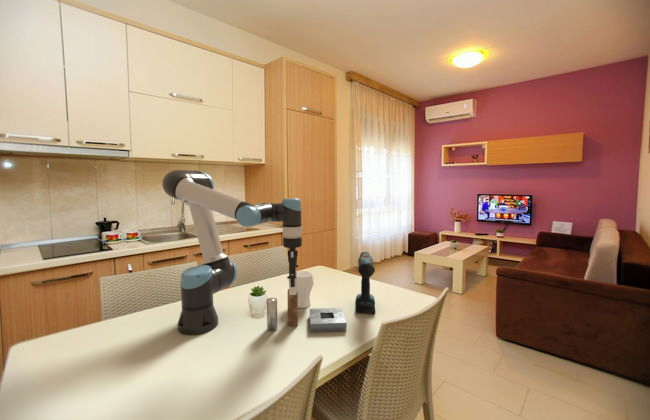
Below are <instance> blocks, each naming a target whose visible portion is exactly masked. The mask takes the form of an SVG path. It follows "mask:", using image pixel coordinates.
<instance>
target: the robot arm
mask: <svg viewBox="0 0 650 420" xmlns="http://www.w3.org/2000/svg"><path fill="white" fill-rule="evenodd" d="M161 183H162V189H163V191H164V193H165V194H167V196H169V197H171V198H172V199H176V200H178V201H180V202H183V203H184V204H185V205H186V206H188V207H189V211H190V214H191V218H192V221H193V224H194V228H195V233H196V236H197V241H198V243H199V247H200V251H201V254H202V258H203V259H202V261H201V263H200V265H199V264H198V265H195V266H191V267H188V268H186V269H185V270H184V271H183V272H181V275H180V281H179V283H180V284H179V286H180V297H181V299H180V300H181V311H180V314H179V317H178V318H179V319H178V320H177V321H178V322H177V332H178V333H180V334H181V335H187V336H189V335H191V336H192V335H201V334H205V333H207V332H210V331H212V330H214V329H215V328H216V327H218V325H219V316H218V313H217V311H216V308H215V305H214V294H216V293H218V292H220V291H222V290H224V289H227V288H229V287H230V286H231V285H232V284H233V283H235V281H236V279H237V277H238V267H237V266H236V264H235V262H233V261H232V260H231V259H229V255H227V254H225V253H224V250H223V247H222V243H221V239H220V235H219V232H218V228H217V224H216V221H215V218H214V214H213V212H215V213H218V214H221V215H223V216H227V217H228V218H230V219H234V220H236V221H237V222H238V223H239V225H240V226H241V227H245V228H247V227H250V228H251V227H255V226H257V225H261V224H266V223H270V222H271V223H273V222H274V223H275V222H278V223H282V237H283V238H282V246H283V247H284V248H286V249H287V248H288V249H289V250H287V261H288V276H287V277H286V279H287V280H288V289H289V295H296V283H297V272H298V271H297V269H298V268H299V264H298V263H297V262H298V254H299V253H298V251H299V250H297V248H300V247H302V245H303V238H302V234H303V233H302V231H304V228H302V200H301V199H300V198H297V197H295V198H292V197H291V198H289V197H287V198H285V197H284V198H283V199H282V200H281V202H279V203H275V202H271V203H270V202H269V203H268V202H261V203H256V204H253V203H251V202H247V201H244V200H242V199H239V198H237V197H234V196H231V195H229V194H227V193H223V192H220V191H217V190H215V189H214V188H215V185H214V181H213V179H212V177H211V176H210V174H208V173H206V172H205V171H201V170H188V169H173V170H170V171H169V172H168V173H166V174H165V175H164V176H163V179H162V182H161Z"/></svg>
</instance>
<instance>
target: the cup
mask: <svg viewBox="0 0 650 420" xmlns="http://www.w3.org/2000/svg"><path fill="white" fill-rule="evenodd" d="M313 287H314V274H313V273H312V272H311V271H308V270H307V271H304V270H301V271H297V283H296V289H298V309H306V308H309V307H311V297H310V296H311V291H312V290H313Z"/></svg>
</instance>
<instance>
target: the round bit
mask: <svg viewBox="0 0 650 420" xmlns="http://www.w3.org/2000/svg"><path fill="white" fill-rule="evenodd" d="M266 330H267V332H271V333H272V332H275V331H277V330H278V298H277V297H269V298H267V299H266Z"/></svg>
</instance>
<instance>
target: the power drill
mask: <svg viewBox="0 0 650 420" xmlns="http://www.w3.org/2000/svg"><path fill="white" fill-rule="evenodd" d="M357 262H358V266H357V269H358V271H357V272H358V274H359V275H360V276H361V280H360V281H361V282H360V284H361V286H360V292H361V293H358V294H356V296H355V313H356V314H361V315H362V314H365V315H375V314H376V301H375V296H374V295H373V294H371V282H370V278H371V277H372V276H373V275H374V273H375V272H376V271H375V270H376V268H375V267H374V259H373V257H372V256H371V255H370V253H369V252H368V251H362V252H361V253H360V255H359V258H358V260H357Z"/></svg>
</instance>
